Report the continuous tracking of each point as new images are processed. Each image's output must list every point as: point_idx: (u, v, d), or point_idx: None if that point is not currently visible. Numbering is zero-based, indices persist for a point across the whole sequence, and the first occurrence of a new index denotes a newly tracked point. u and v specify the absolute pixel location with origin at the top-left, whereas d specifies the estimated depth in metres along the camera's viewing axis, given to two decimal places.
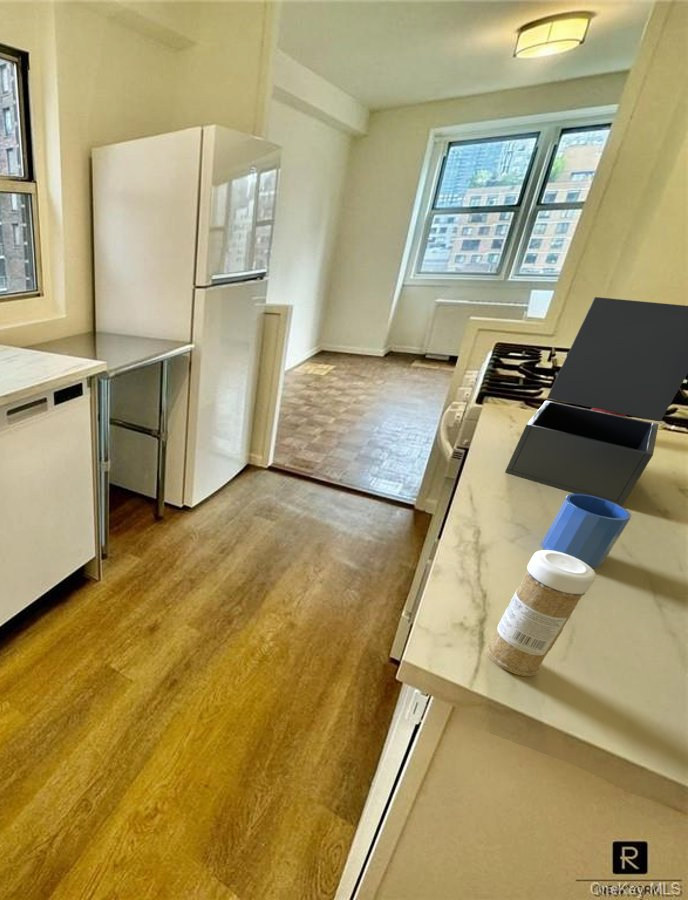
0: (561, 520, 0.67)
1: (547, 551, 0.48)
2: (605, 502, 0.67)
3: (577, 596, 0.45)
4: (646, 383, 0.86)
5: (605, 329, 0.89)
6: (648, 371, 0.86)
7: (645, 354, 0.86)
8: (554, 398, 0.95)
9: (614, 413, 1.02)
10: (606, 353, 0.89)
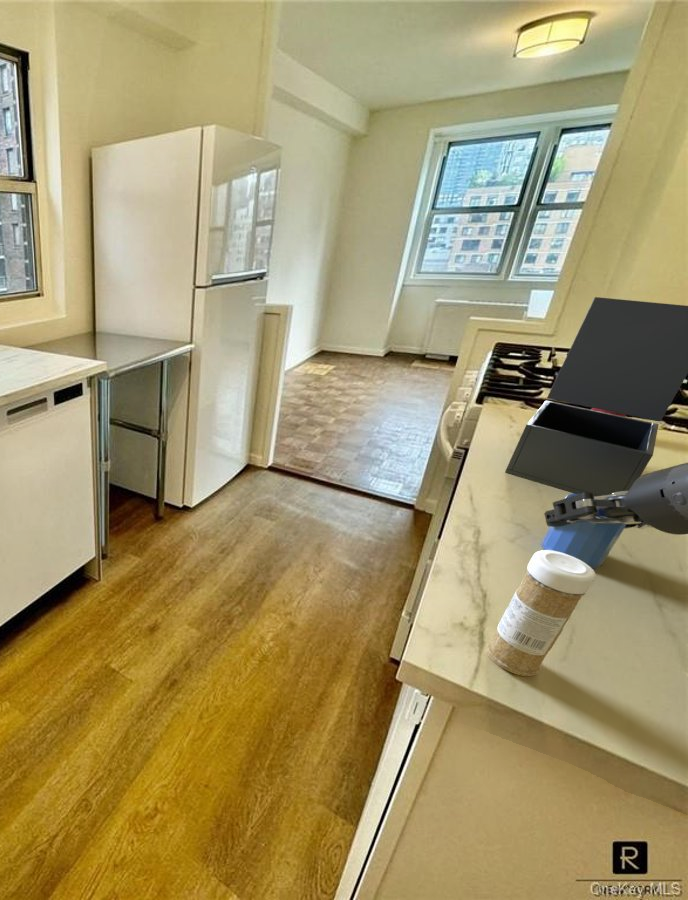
0: None
1: (547, 551, 0.48)
2: None
3: (577, 596, 0.45)
4: (646, 383, 0.86)
5: (605, 329, 0.89)
6: (648, 371, 0.86)
7: (645, 354, 0.86)
8: (554, 398, 0.95)
9: (614, 413, 1.02)
10: (606, 353, 0.89)
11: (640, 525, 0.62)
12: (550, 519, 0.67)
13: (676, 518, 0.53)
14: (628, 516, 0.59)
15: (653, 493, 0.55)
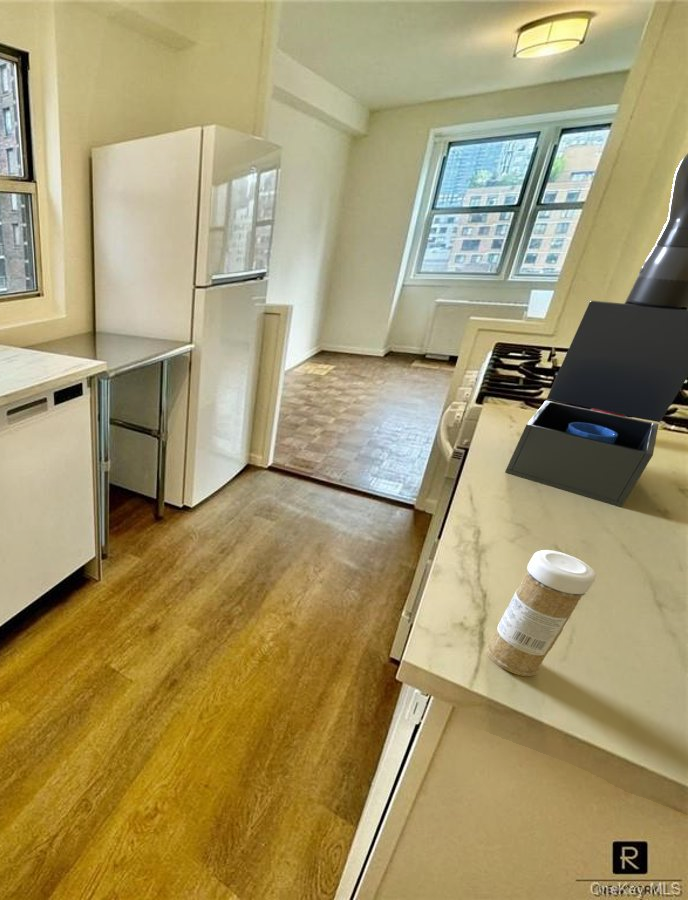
0: None
1: (547, 551, 0.48)
2: (603, 428, 0.87)
3: (577, 596, 0.45)
4: (645, 386, 0.85)
5: (602, 333, 0.86)
6: (647, 375, 0.84)
7: (643, 358, 0.84)
8: (554, 399, 0.95)
9: (614, 413, 1.02)
10: (604, 357, 0.87)
11: None
12: None
13: (645, 284, 0.81)
14: None
15: None
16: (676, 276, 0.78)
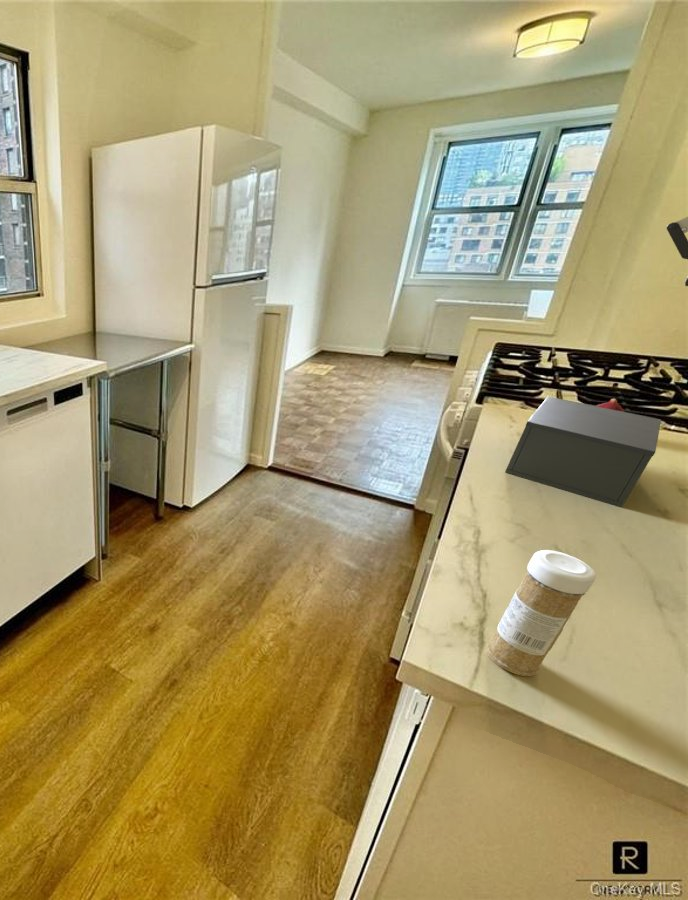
0: None
1: (547, 551, 0.48)
2: None
3: (577, 596, 0.45)
4: None
5: None
6: None
7: None
8: None
9: None
10: None
11: None
12: (687, 278, 0.74)
13: None
14: None
15: None
16: None
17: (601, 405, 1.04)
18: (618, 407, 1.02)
